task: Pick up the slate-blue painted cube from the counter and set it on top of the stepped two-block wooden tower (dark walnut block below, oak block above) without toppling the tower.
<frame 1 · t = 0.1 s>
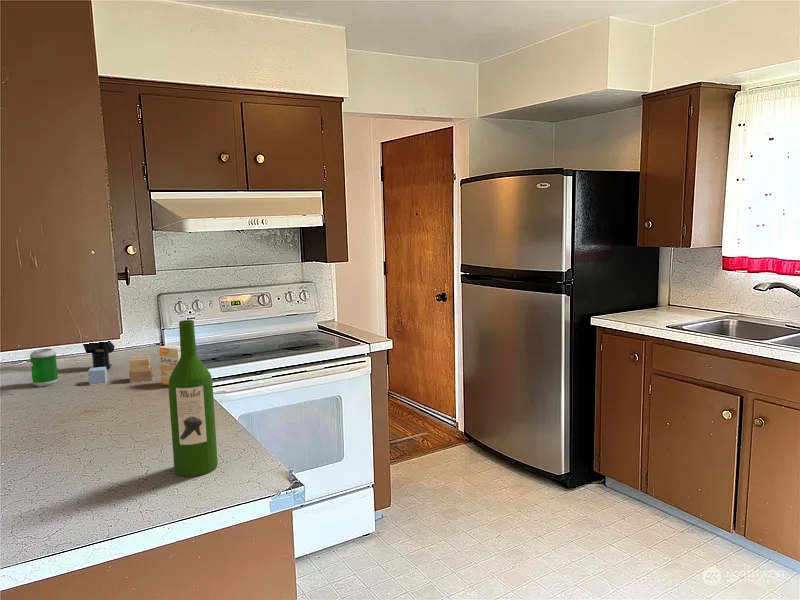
hand: (35, 346, 192), 15 cm above the counter, tool tilted 35°, fingers open, 9 cm apart
soda can: (45, 385, 202), on the counter
wine bottle: (196, 469, 127), on the counter
blue cube: (98, 382, 203), on the counter
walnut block: (141, 380, 206), on the counter
supplement box: (175, 384, 199), on the counter
oak block: (140, 369, 205), point 4 cm above the counter
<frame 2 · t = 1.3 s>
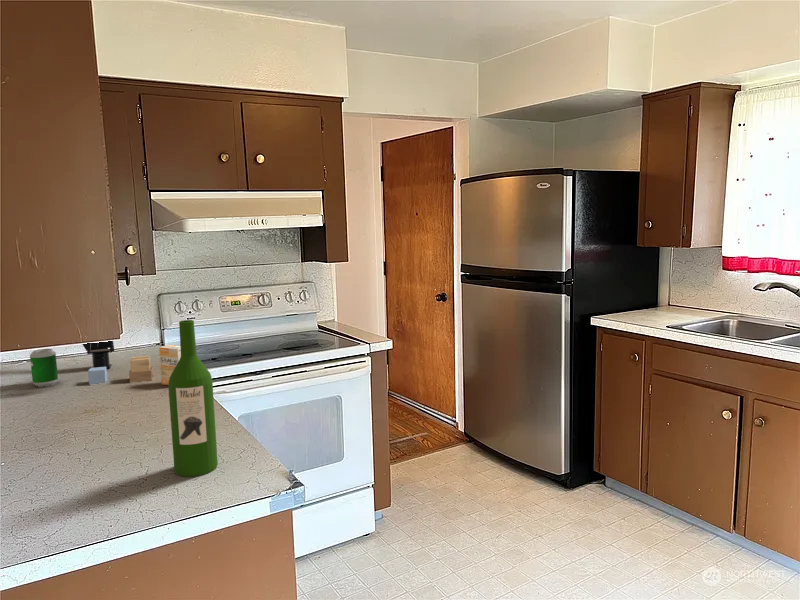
hand: (92, 348, 201), 12 cm above the counter, tool pointing down, fingers open, 9 cm apart
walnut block: (141, 380, 206), on the counter, touching oak block
oak block: (140, 369, 205), point 4 cm above the counter, touching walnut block
everything else where it was.
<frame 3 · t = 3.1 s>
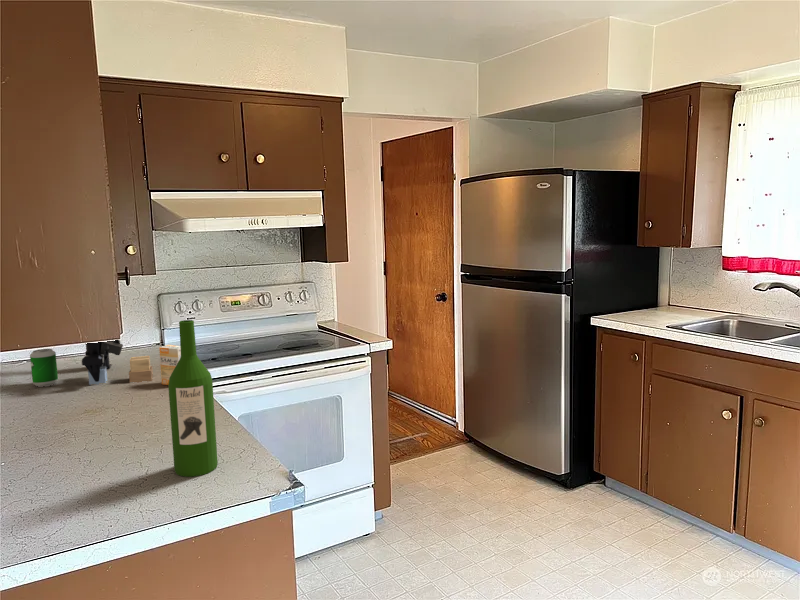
hand: (98, 379, 203), 1 cm above the counter, tool pointing down, fingers closed on blue cube, 5 cm apart
blue cube: (98, 382, 203), on the counter, touching gripper
everything else where it was.
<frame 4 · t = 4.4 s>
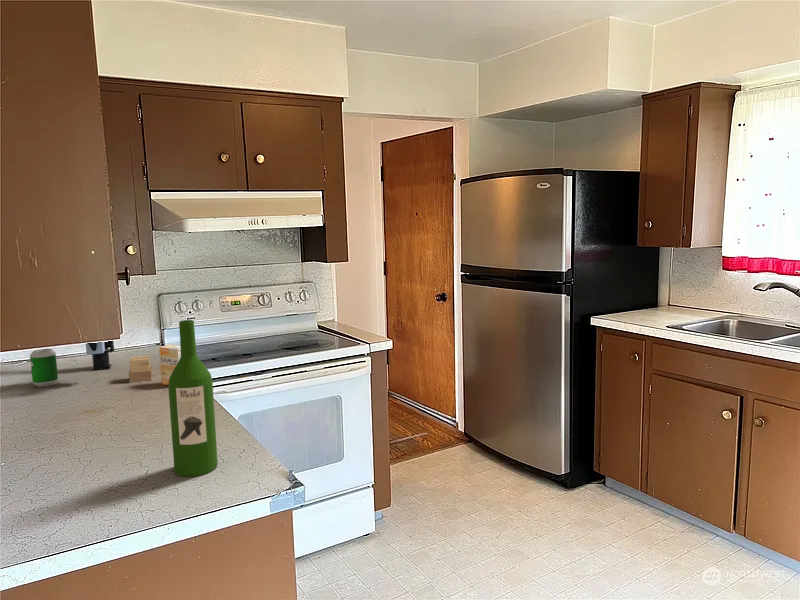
hand: (95, 349, 201), 12 cm above the counter, tool pointing down, fingers closed on blue cube, 5 cm apart
blue cube: (95, 352, 201), point 11 cm above the counter, touching gripper
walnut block: (141, 380, 206), on the counter
oak block: (140, 369, 205), point 4 cm above the counter
everything else where it was.
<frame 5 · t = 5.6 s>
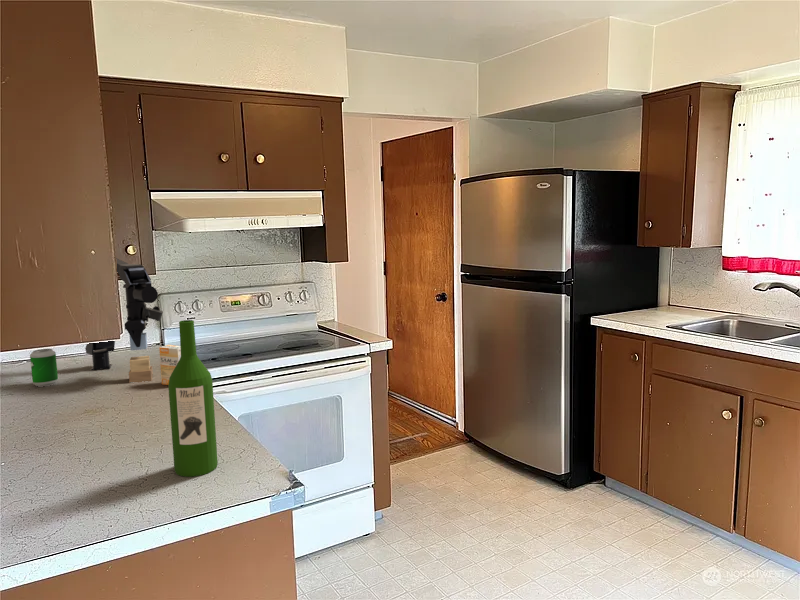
hand: (138, 345, 204), 12 cm above the counter, tool pointing down, fingers closed on blue cube, 5 cm apart
blue cube: (139, 348, 204), point 11 cm above the counter, touching gripper
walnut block: (141, 380, 206), on the counter, touching oak block
oak block: (140, 369, 205), point 4 cm above the counter, touching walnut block
everything else where it was.
when the fingers open (10 cm above the counter, at t = 6.3 s): blue cube drops 2 cm, resting on oak block.
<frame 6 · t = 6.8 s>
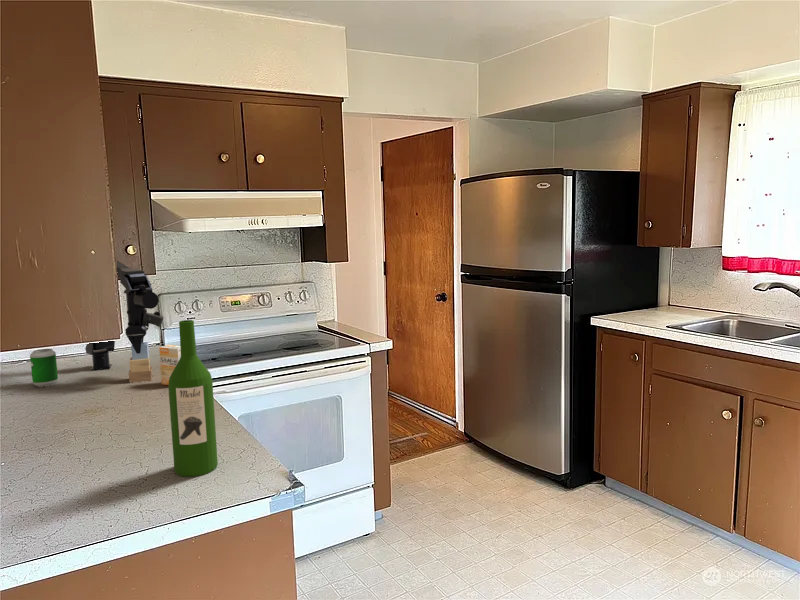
hand: (139, 350, 204), 10 cm above the counter, tool pointing down, fingers open, 9 cm apart
blue cube: (140, 357, 205), point 8 cm above the counter, touching oak block
oak block: (140, 369, 205), point 4 cm above the counter, touching blue cube, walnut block
everything else where it was.
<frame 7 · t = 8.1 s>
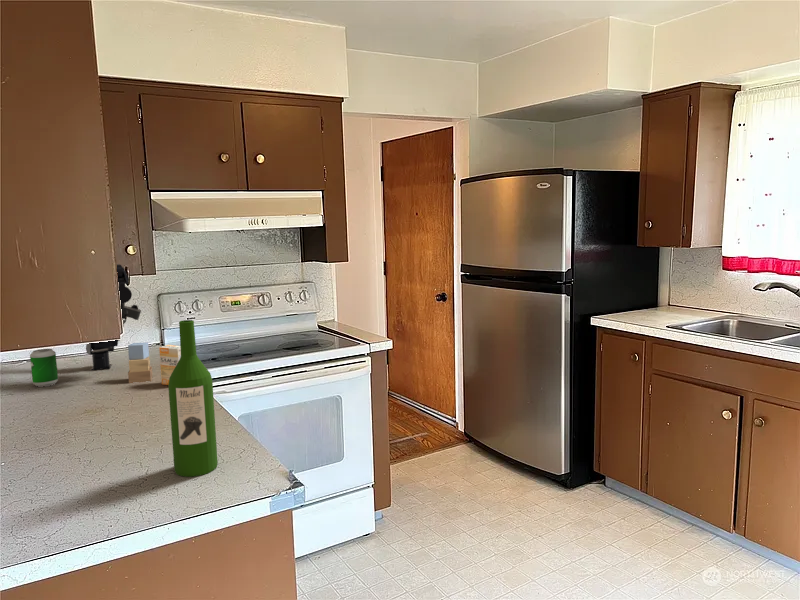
hand: (116, 343, 208), 12 cm above the counter, tool pointing down, fingers open, 9 cm apart
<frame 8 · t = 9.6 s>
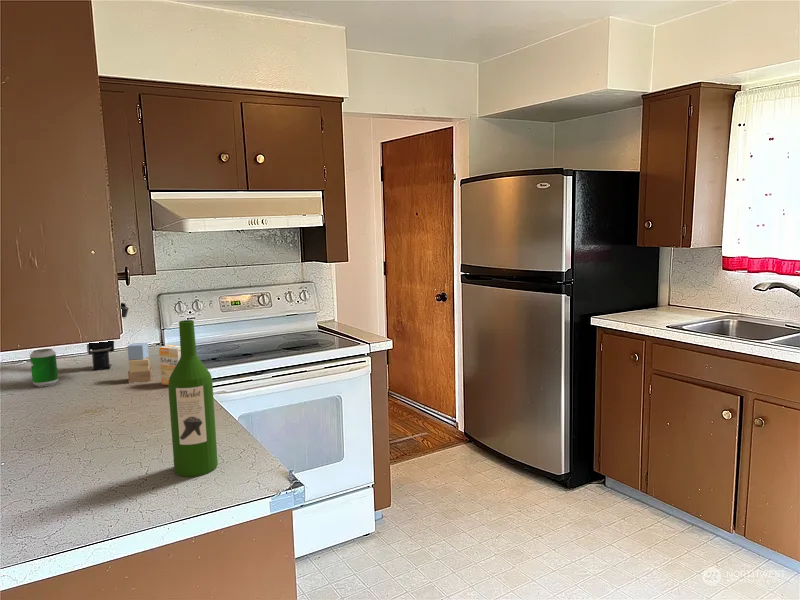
hand: (104, 341, 209), 13 cm above the counter, tool pointing down, fingers open, 9 cm apart
nothing on the counter moved.
at the end: blue cube 0.4 cm off-centre on the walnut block, point 8.0 cm above the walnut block's base; oak block tilted 0°; the gripper is holding nothing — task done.
